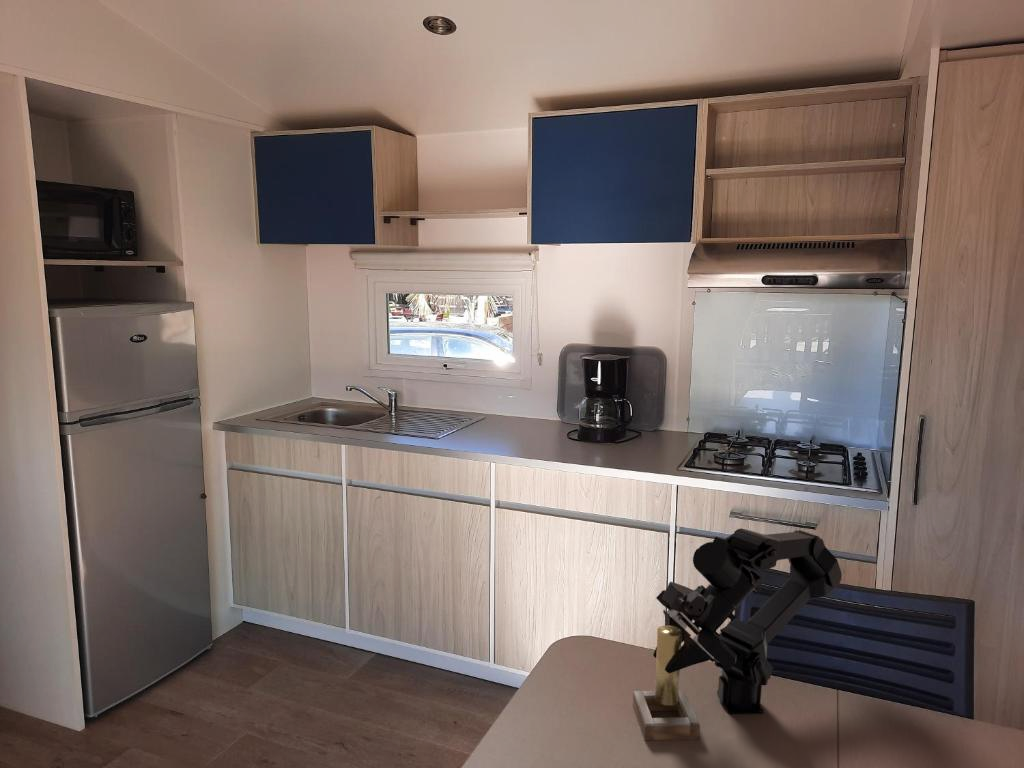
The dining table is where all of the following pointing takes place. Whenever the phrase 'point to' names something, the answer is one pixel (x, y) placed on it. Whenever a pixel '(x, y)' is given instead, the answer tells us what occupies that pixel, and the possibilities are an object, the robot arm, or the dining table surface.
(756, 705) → the robot arm
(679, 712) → the shallow grey tray
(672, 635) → the gold cylinder
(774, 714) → the dining table surface
